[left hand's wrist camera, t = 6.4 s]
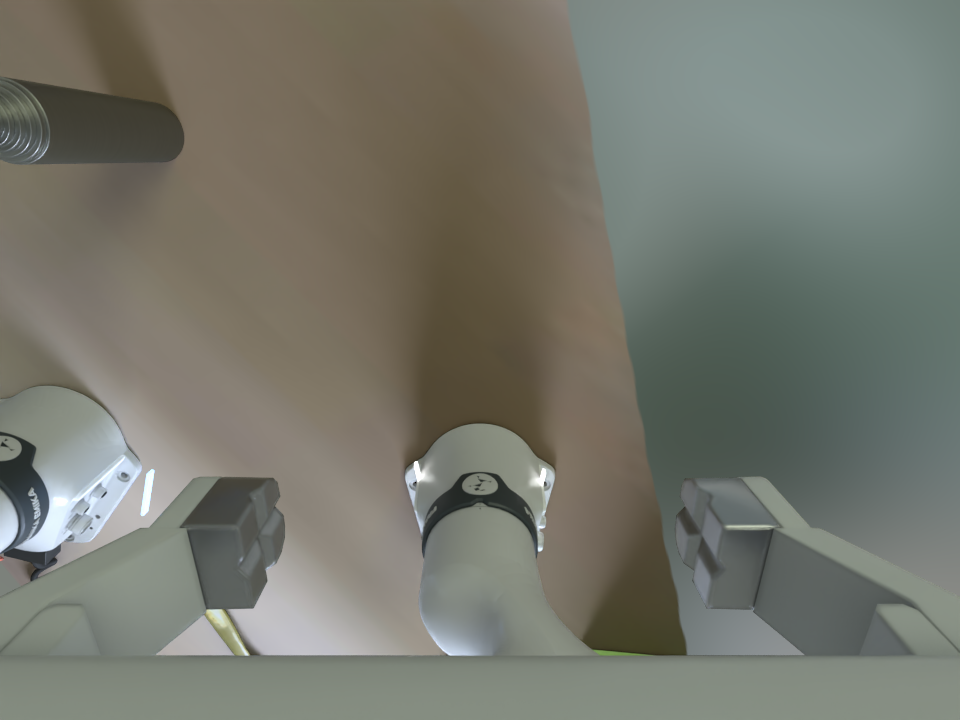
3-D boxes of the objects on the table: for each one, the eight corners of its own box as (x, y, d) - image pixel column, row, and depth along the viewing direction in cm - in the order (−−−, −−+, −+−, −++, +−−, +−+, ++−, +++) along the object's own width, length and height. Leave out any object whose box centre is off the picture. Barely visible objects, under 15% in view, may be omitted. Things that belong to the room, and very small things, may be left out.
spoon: (178, 597, 76) (170, 608, 74) (242, 575, 74) (236, 585, 72) (292, 761, 85) (287, 775, 83) (351, 745, 84) (348, 758, 82)
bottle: (123, 149, 53) (-103, 144, 32) (132, 92, 51) (-102, 49, 30) (178, 170, 53) (-9, 179, 33) (189, 115, 52) (-3, 89, 31)
